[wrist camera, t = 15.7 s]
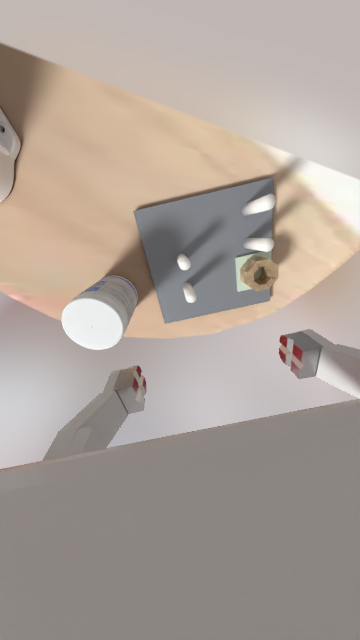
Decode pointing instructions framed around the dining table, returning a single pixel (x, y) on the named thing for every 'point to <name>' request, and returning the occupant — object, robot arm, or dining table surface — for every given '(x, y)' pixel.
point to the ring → (265, 278)
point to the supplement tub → (100, 313)
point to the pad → (240, 263)
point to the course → (206, 248)
